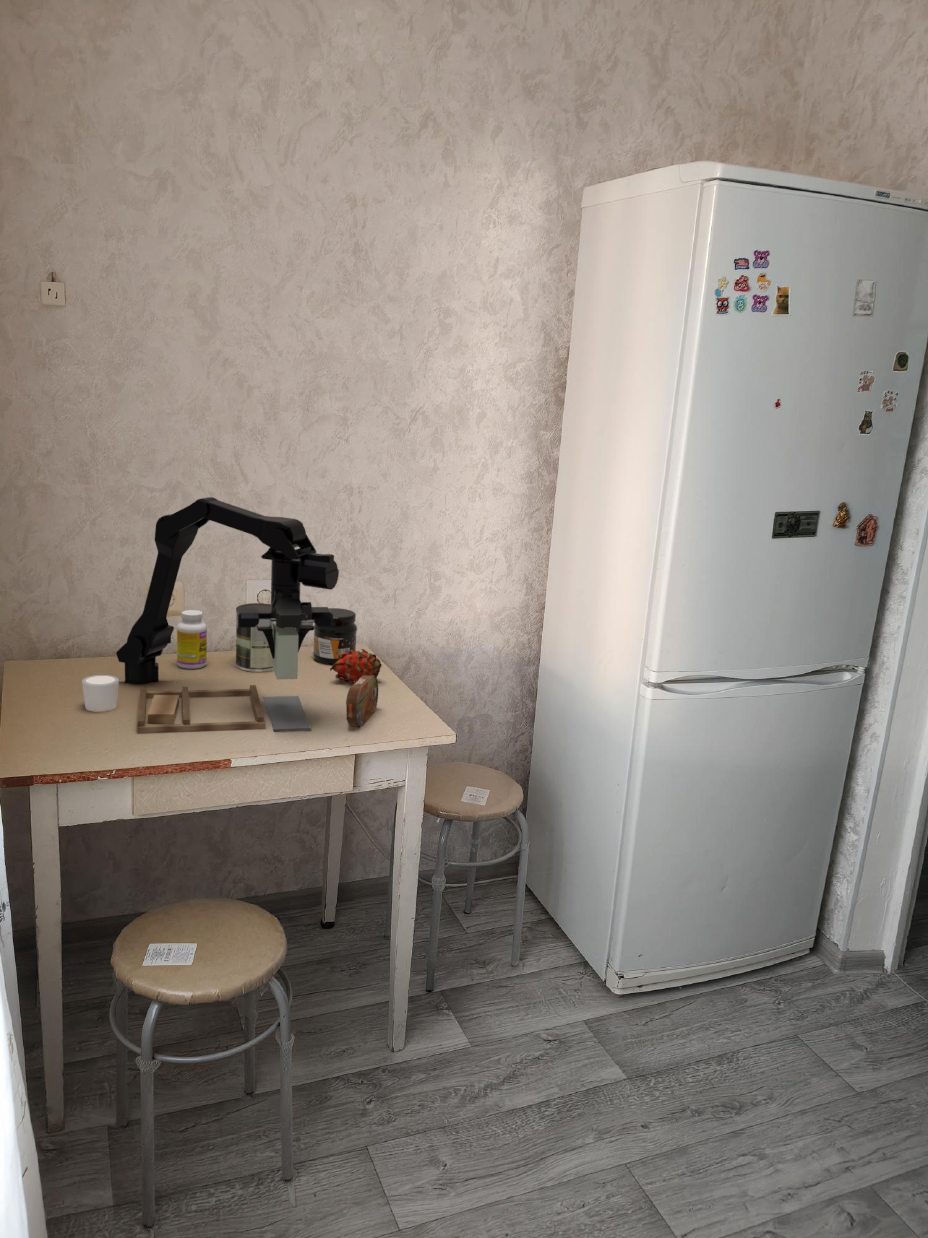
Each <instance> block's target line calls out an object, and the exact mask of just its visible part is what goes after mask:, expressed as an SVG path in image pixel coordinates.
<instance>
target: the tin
mask: <svg viewBox="0 0 928 1238" xmlns="http://www.w3.org/2000/svg"><path fill="white" fill-rule="evenodd" d="M377 678H378V677H377ZM377 678H376V676H374V675H373V676H367V675H364V676H361V677H360V678H359V679H358V680H357V681H356V682H355V683H354V682H353V684H352V685H351V686H350V687H349V689H348V692H347V695H346V700H345V704H346V705H345V706H346V708H345V709H346V722H347V724H348V725H351V726H356V727H357V726H358V727H364V725H365V724H366V723H368V721H369V720H370V718H371V717H372V716H373V715H374V714H375V711H376V710H377V706H378V699H379V682H378V679H377Z"/></svg>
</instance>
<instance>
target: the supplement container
mask: <svg viewBox="0 0 928 1238" xmlns="http://www.w3.org/2000/svg"><path fill="white" fill-rule="evenodd" d="M328 608H329V607H328ZM329 609H330V611H331V612H332V614H333V626H331V627H318V626H317V625H316V624H315V623H314V624H313V626H314V630H313V631H314V632H313V634H314V635H313V652H312V656H313V659H314V660H315V661H317V662H318V663H322V664H324V663H325V665H331V666H333V665H334V664H335V663H336V662H337V661H338V660H339V659H340V658H341V656H342V654H345V653H349V651H350V650H355V651H356V649H357V648H356V646H357V632H358V626H357V624H356V623H355V622H356V620H357V619H356V616H357V614H356V613H355V611H353V610H351V609H346V608H338V607H336V608H335V607H330V608H329Z"/></svg>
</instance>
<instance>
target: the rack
mask: <svg viewBox="0 0 928 1238" xmlns="http://www.w3.org/2000/svg"><path fill="white" fill-rule="evenodd" d="M258 692H259V691H258V689H257V685H255V684H252V685H251V684H250V685H249V688H233V689H230V688H226V689H225V688H224V689H190V690H189V686H181V689H179V690H148V689H147V687H140V690H139V701H138V711H137V712H138V713H137V734H139V735H140V734H162V733H163V734H164V733H166V734H167V733H190V732H193V733H194V732H217V731H218V732H219V731H222V732H223V731H245V730H265V729H266V721H265V716H264V712H263V707H262V704H261V700H260V697H259V693H258ZM154 695H179V699H181V703H182V704H181V705H182V706H181V707H182V723H174V724H161V725H147V724H146V714H147V713H146V712H147V699H149V700H151V699H152V700H153V697H154ZM221 697H223V698H225V697H226V698H227V697H228V698H229V697H249V699H250V701H251V706H252V709H253V710H252V711H253V714H254V719H255V720H254V721H252V720H251V721H227V722H225V721H224V722H221V721H220V722H198V723H197V722H196V723H193V722H192V723H191V715H190V699H191V698H221Z"/></svg>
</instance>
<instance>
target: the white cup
mask: <svg viewBox="0 0 928 1238" xmlns="http://www.w3.org/2000/svg"><path fill="white" fill-rule="evenodd" d="M119 681H120V679H119V677H117V676H114V675H109V674H97V675H96V674H95V675H90V676H86V677H84V678H82V680H81V684H82V693H83V700H84V708H85V710H87V711H90V712H95V713H104V712H110V711H112V710H115V709H116V708H117V705H118V695H119V683H120V682H119Z"/></svg>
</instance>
